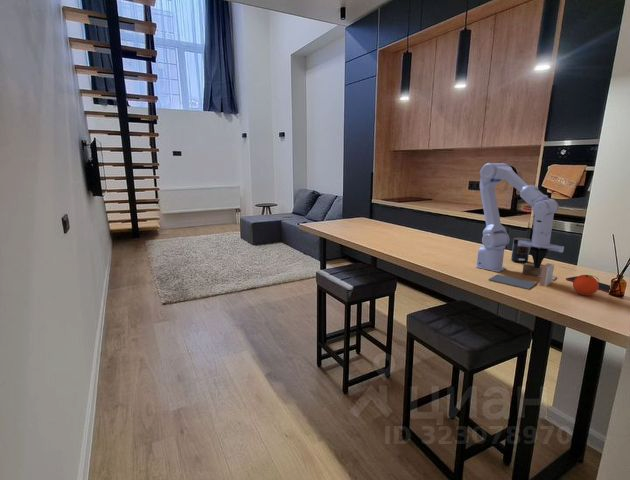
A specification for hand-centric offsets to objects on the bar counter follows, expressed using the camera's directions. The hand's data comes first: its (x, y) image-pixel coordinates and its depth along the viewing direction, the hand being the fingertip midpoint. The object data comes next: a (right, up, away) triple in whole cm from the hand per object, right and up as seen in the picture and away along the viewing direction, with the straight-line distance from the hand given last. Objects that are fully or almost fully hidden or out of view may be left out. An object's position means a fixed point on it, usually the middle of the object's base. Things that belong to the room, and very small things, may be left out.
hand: (537, 267), depth 132 cm
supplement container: (+9, 0, +27) cm, 29 cm away
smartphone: (+19, -7, -3) cm, 20 cm away
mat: (-9, -6, 0) cm, 11 cm away
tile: (+2, -6, -1) cm, 6 cm away
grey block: (+5, -4, +7) cm, 10 cm away
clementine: (+9, -9, -12) cm, 17 cm away
